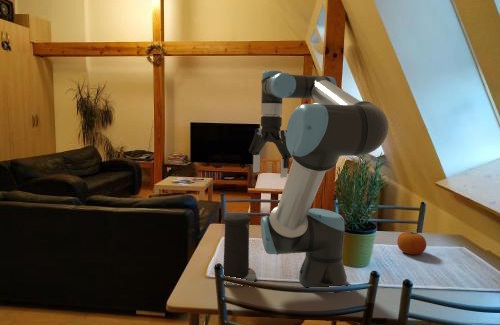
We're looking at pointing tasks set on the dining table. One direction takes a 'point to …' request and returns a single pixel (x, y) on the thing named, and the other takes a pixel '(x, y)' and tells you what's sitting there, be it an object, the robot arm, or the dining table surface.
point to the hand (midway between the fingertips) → (269, 174)
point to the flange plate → (250, 276)
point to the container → (236, 245)
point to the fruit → (411, 243)
